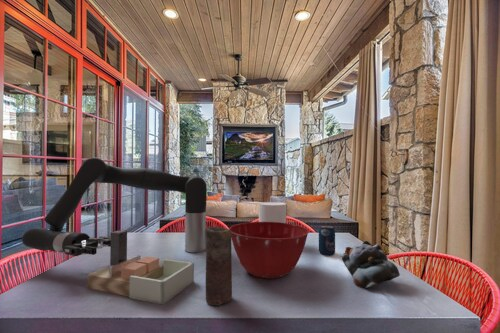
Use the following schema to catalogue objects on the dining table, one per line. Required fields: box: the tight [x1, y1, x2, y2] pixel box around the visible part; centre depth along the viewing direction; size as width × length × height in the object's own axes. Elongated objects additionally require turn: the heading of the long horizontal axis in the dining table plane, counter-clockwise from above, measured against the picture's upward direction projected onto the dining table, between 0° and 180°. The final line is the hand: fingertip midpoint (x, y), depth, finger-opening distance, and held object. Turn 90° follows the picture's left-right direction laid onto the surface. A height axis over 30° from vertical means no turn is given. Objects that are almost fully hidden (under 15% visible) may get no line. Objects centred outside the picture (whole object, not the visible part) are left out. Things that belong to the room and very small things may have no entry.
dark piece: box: [109, 229, 142, 277], centre depth 85 cm, size 5×12×12 cm, turn 161°
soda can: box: [318, 224, 336, 257], centre depth 113 cm, size 7×7×12 cm
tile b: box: [121, 262, 146, 279], centre depth 79 cm, size 5×5×3 cm
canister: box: [258, 201, 287, 223], centre depth 129 cm, size 14×14×20 cm
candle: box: [205, 226, 233, 306], centre depth 73 cm, size 8×7×20 cm
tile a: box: [136, 256, 160, 273], centre depth 85 cm, size 5×5×3 cm
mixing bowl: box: [228, 221, 310, 279], centre depth 94 cm, size 28×28×16 cm
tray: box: [128, 258, 195, 305], centre depth 79 cm, size 11×16×6 cm
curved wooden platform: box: [86, 264, 163, 297], centre depth 84 cm, size 17×14×4 cm
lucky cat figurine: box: [340, 240, 401, 290], centre depth 86 cm, size 15×12×14 cm
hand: (107, 247), depth 87 cm, fingers open, 8 cm apart
